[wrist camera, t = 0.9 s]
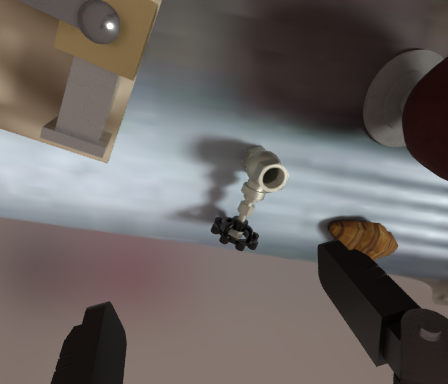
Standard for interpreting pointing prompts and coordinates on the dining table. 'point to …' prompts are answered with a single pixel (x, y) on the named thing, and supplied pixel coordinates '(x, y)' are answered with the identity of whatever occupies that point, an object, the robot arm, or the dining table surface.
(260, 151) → the valve
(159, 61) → the dining table surface
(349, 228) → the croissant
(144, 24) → the pipe valve
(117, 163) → the dining table surface
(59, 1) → the valve lever
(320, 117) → the dining table surface
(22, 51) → the valve board
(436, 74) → the mate gourd
